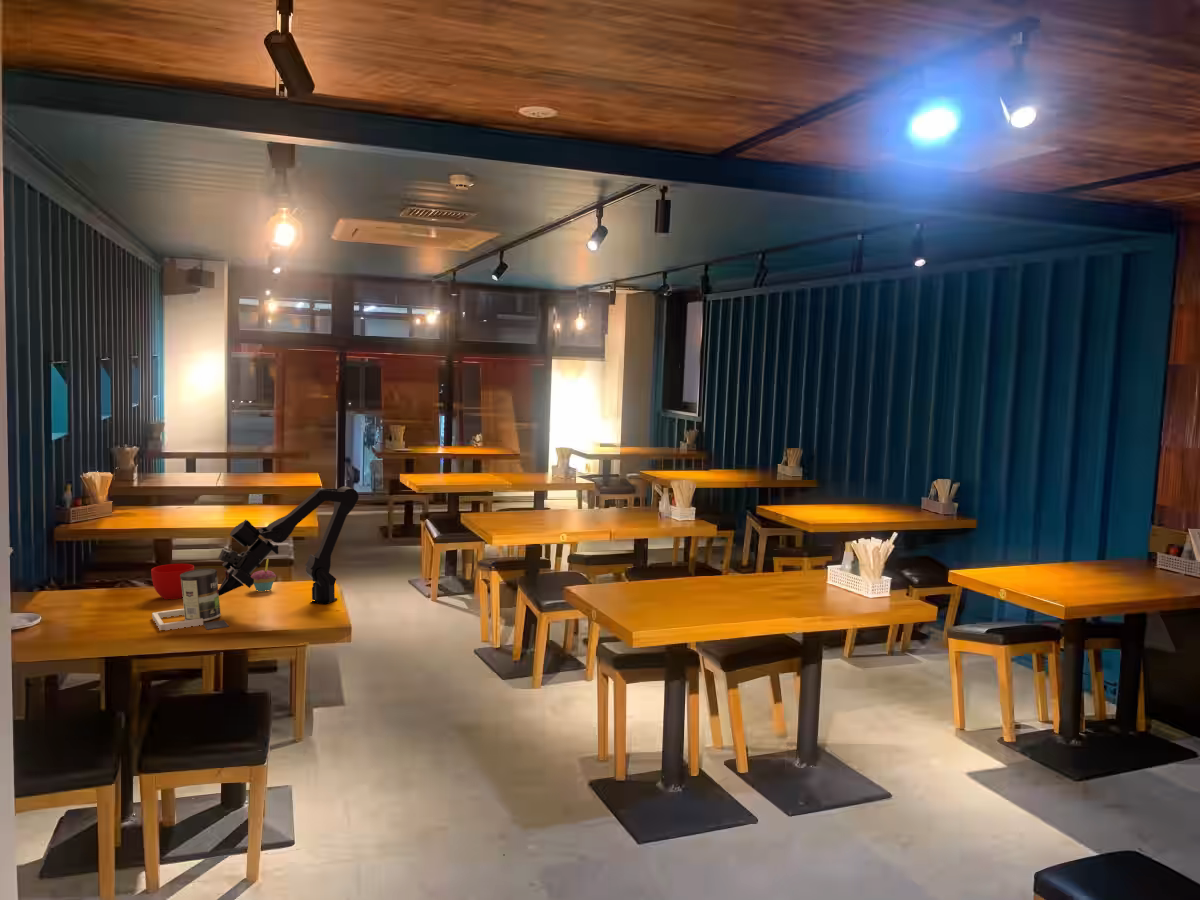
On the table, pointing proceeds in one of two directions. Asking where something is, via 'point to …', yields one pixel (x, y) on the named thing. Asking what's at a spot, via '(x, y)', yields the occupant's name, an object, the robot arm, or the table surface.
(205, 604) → the coffee can
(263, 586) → the cupcake
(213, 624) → the pair of grey pads
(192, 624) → the dock
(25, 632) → the table surface
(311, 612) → the table surface
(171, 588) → the ceramic cup
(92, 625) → the table surface
